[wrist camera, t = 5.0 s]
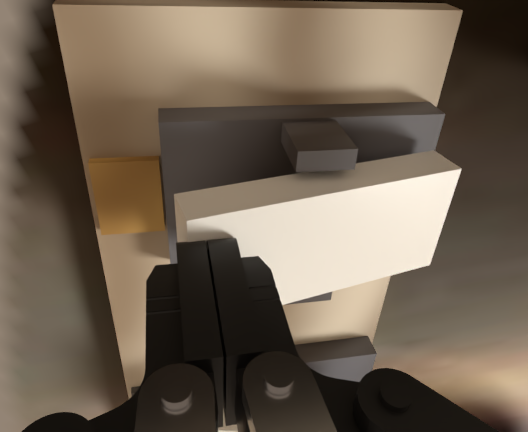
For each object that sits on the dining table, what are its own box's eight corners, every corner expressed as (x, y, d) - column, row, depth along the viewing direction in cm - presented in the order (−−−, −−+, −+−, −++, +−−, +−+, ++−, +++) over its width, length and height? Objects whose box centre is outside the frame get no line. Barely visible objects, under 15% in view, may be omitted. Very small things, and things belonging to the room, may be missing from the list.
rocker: (434, 150, 14) (461, 168, 13) (407, 243, 16) (429, 264, 15) (174, 193, 11) (186, 220, 11) (181, 299, 13) (192, 329, 13)
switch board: (445, 3, 14) (525, 35, 11) (318, 508, 33) (335, 572, 30) (59, -4, 12) (26, 33, 9) (159, 538, 31) (159, 610, 28)
